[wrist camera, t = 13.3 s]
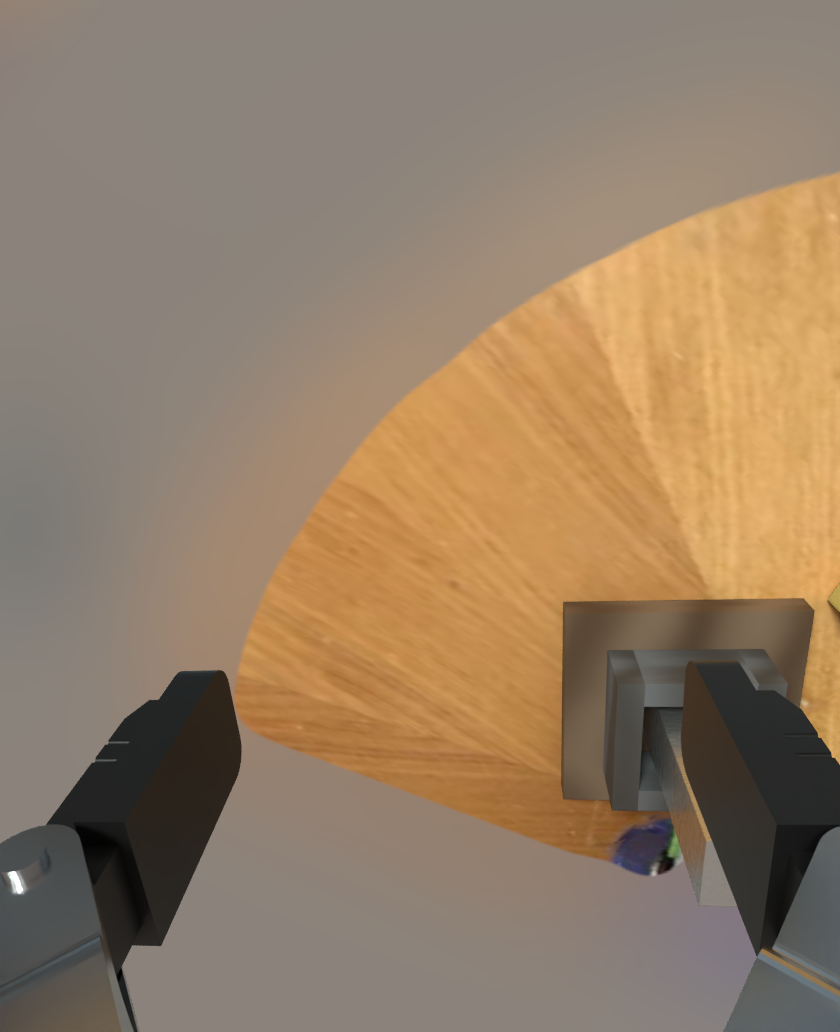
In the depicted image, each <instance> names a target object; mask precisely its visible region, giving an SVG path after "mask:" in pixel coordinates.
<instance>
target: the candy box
mask: <svg viewBox="0 0 840 1032" xmlns="http://www.w3.org/2000/svg"><path fill="white" fill-rule="evenodd" d="M828 601H829V602H830V603H831V604H832V605H833V606H834V607H835V608H836V609H837V610H838V611H839V612H840V583H839V584H838V586H837V587H836V589H835V590H834V592H833V593H832V594H831V596H830V597H829V599H828Z"/></svg>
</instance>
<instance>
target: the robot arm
mask: <svg viewBox="0 0 840 1032" xmlns="http://www.w3.org/2000/svg"><path fill="white" fill-rule="evenodd" d="M681 750H682V758H683V764H684V768H685V772H686V775H687V778H688V781H689V783H690V786H691V788H692V791H693V794H694V796H695V799H696V801H697V804H698V806H699V809H700V812H701V814H702V817H703V819H704V822H705V824H706V827H707V830H708V832H709V835H710V837H711V840H712V842H713V845H714V848H715V850H716V853H717V855H718V858H719V860H720V863H721V866H722V868H723V871H724V873H725V876H726V878H727V881H728V884H729V886H730V889H731V891H732V894H733V896H734V899H735V902H736V904H737V907H738V909H739V912H740V914H741V916H742V920H743V922H744V925H745V927H746V930H747V932H748V935H749V938H750V940H751V943H752V945H753V948H754V950H755V953H756V956H757V958H756V960H755V962H754V964H753V967H752V969H751V971H750V973H749V975H748V978H747V980H746V983H745V984H744V987H743V989H742V991H741V993H740V995H739V998H738V1000H737V1002H736V1004H735V1007H734V1009H733V1011H732V1013H731V1015H730V1018H729V1020H728V1022H727V1024H726V1026H725V1029H724V1031H723V1032H840V765H839V763H838V762H837V761H836V759H835V758H832V756H831V752H830V750H829V749H828V747H827V746H826V745H825V743H824V742H823V740H822V739H821V738H818V733H817V731H816V730H815V729H814V727H813V726H812V724H811V723H810V721H809V720H808V718H807V717H806V716H805V714H804V713H803V711H802V710H801V709H800V708H798V707H797V706H796V705H794V704H793V703H791V702H790V701H789V700H787V699H786V698H785V697H783V696H782V695H780V694H779V693H778V692H776V691H775V690H756V689H755V687H754V686H753V684H752V682H751V681H750V679H749V677H748V676H747V674H746V673H745V671H744V669H743V668H742V666H741V665H740V663H739V662H738V661H736V660H715V661H689V662H688V664H687V667H686V672H685V685H684V700H683V714H682V728H681ZM240 763H241V740H240V735H239V730H238V725H237V720H236V715H235V711H234V706H233V701H232V696H231V691H230V687H229V682H228V679H227V676H226V674H225V673H224V672H223V671H221V670H217V671H216V670H215V671H181V672H179V673H178V674H177V675H176V676H175V677H174V678H173V680H172V681H171V683H170V684H169V686H168V687H167V689H166V690H165V691H164V693H163V694H162V696H161V697H160V699H159V700H149V701H148V702H146V703H145V704H144V705H142V706H141V707H140V708H138V709H137V710H136V711H134V712H133V713H132V714H130V715H129V716H128V717H127V718H125V719H124V721H123V722H122V723H121V724H120V726H119V727H118V728H117V730H116V731H115V732H114V734H113V735H112V736H111V738H110V739H109V743H108V745H105V746H104V747H103V749H102V750H101V751H100V753H99V754H98V755H97V757H96V761H95V763H92V764H91V765H90V766H89V767H88V769H87V770H86V772H85V773H84V775H83V776H82V777H81V778H80V780H79V781H78V782H77V784H76V785H75V786H74V788H73V789H72V790H71V792H70V793H69V794H68V796H67V797H66V798H65V800H64V801H63V803H62V804H61V805H60V807H59V808H58V809H57V811H56V812H55V813H54V815H53V816H52V817H51V819H50V820H49V821H48V823H47V824H46V825H44V826H38V827H34V828H31V829H28V830H25V831H22V832H20V833H18V834H16V835H14V836H12V837H10V838H8V839H6V840H5V841H3V842H2V843H0V1032H140V1031H139V1027H138V1023H137V1019H136V1015H135V1011H134V1007H133V1003H132V999H131V995H130V991H129V988H128V984H127V980H126V976H125V973H124V970H123V967H122V965H123V962H124V961H125V959H126V956H127V954H128V952H129V950H130V948H131V946H132V945H143V946H145V945H146V946H161V945H162V943H163V940H164V938H165V936H166V934H167V932H168V929H169V927H170V925H171V923H172V920H173V918H174V916H175V914H176V911H177V909H178V907H179V905H180V903H181V900H182V898H183V896H184V894H185V892H186V889H187V887H188V885H189V883H190V880H191V878H192V876H193V874H194V872H195V869H196V867H197V865H198V863H199V861H200V858H201V856H202V854H203V852H204V849H205V847H206V845H207V843H208V841H209V838H210V836H211V834H212V832H213V830H214V827H215V825H216V823H217V821H218V818H219V816H220V814H221V812H222V810H223V807H224V805H225V803H226V801H227V798H228V796H229V794H230V792H231V790H232V787H233V785H234V783H235V781H236V778H237V776H238V772H239V769H240Z"/></svg>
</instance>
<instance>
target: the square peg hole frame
mask: <svg viewBox="0 0 840 1032" xmlns="http://www.w3.org/2000/svg"><path fill="white" fill-rule="evenodd" d="M813 618H814V610H813V609H812V607H811V606H810V605H809V604H808V603H807V602H806V601H805V600H804V598H801V599H733V600H665V601H597V602H563V669H562V761H561V785H562V792H563V799H581V800H610V803H611V808H612V810H618V811H669V810H668V807H667V804H666V801H665V798H664V795H663V791H662V788H661V785H660V782H659V779H658V776H657V773H656V770H655V766H654V763H653V760H652V757H651V754H650V751H649V748H648V745H647V741H646V738H645V737H646V722H647V707H683V700H684V685H685V672H686V667H687V664H688V662H689V661H715V660H736V661H738V662H739V663H740V665H741V666H742V668H743V669H744V671H745V673H746V674H747V676H748V677H749V679H750V681H751V682H752V684H753V686H754V687H755V689H756V690H775V691H776V692H778V693H779V694H780V695H782V696H783V697H785V698H786V699H787V700H789V701H790V702H791V703H793V704H794V705H796V706H797V707H798V708H799V706H800V700H801V694H802V687H803V681H804V675H805V668H806V662H807V656H808V649H809V643H810V637H811V630H812V624H813Z"/></svg>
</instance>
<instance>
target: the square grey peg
mask: <svg viewBox="0 0 840 1032" xmlns="http://www.w3.org/2000/svg"><path fill="white" fill-rule="evenodd" d="M682 714H683V707H647V722H646V737H645V738H646V741H647V745H648V748H649V751H650V754H651V757H652V760H653V763H654V766H655V770H656V773H657V776H658V779H659V782H660V785H661V788H662V791H663V795H664V798H665V801H666V804H667V807H668V810H669V813H670V816H671V820H672V823H673V826H674V829H675V832H676V835H677V838H678V841H679V845H680V848H681V851H682V854H683V857H684V860H685V863H686V866H687V869H688V873H689V876H690V879H691V882H692V885H693V888H694V891H695V895H696V898H697V901H698V904H699V906H726V907H737V904H736V902H735V899H734V896H733V894H732V891H731V889H730V886H729V884H728V881H727V878H726V876H725V873H724V871H723V868H722V866H721V863H720V860H719V858H718V855H717V853H716V850H715V848H714V845H713V842H712V840H711V837H710V835H709V832H708V830H707V827H706V824H705V822H704V819H703V817H702V814H701V812H700V809H699V806H698V804H697V801H696V799H695V796H694V794H693V791H692V788H691V786H690V783H689V781H688V778H687V775H686V772H685V768H684V764H683V758H682V750H681V728H682Z"/></svg>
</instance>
